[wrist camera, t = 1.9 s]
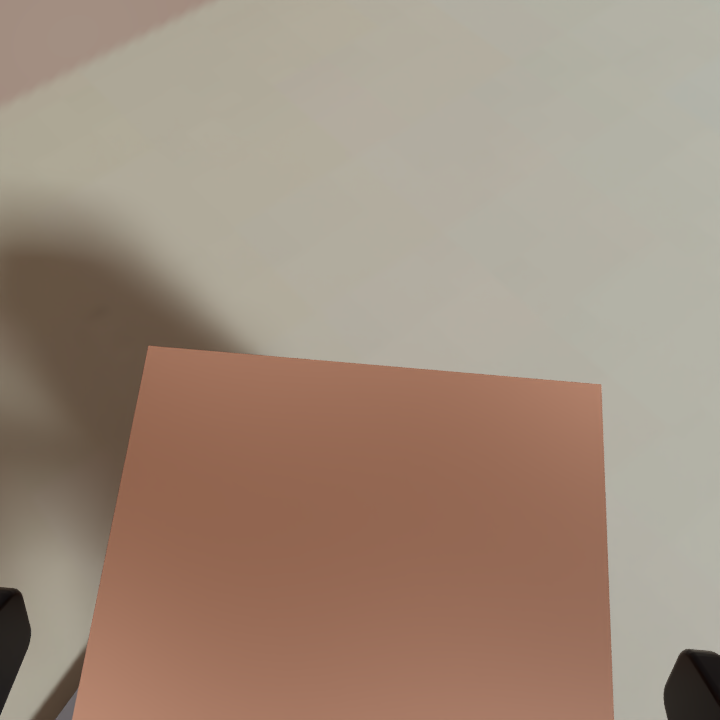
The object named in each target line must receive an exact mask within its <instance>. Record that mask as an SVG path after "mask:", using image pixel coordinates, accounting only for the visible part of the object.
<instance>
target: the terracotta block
mask: <svg viewBox="0 0 720 720" xmlns="http://www.w3.org/2000/svg"><path fill="white" fill-rule="evenodd" d="M72 720H614V709H613V683H612V656H611V630H610V604H609V577H608V551H607V525H606V498H605V472H604V446H603V419H602V393H601V384H589V383H577V382H566V381H554V380H543V379H531V378H519V377H508V376H496V375H484V374H473V373H461V372H449V371H438V370H426V369H414V368H403V367H391V366H379V365H368V364H356V363H345V362H333V361H321V360H310V359H298V358H286V357H275V356H263V355H251V354H240V353H228V352H216V351H205V350H193V349H182V348H170V347H158V346H148V350H147V355H146V360H145V365H144V370H143V375H142V379H141V384H140V389H139V394H138V399H137V404H136V409H135V414H134V419H133V424H132V428H131V433H130V438H129V443H128V448H127V453H126V458H125V463H124V468H123V472H122V477H121V482H120V487H119V492H118V497H117V502H116V507H115V512H114V517H113V521H112V526H111V531H110V536H109V541H108V546H107V551H106V556H105V561H104V566H103V570H102V575H101V580H100V585H99V590H98V595H97V600H96V605H95V610H94V615H93V619H92V624H91V629H90V634H89V639H88V644H87V649H86V654H85V659H84V663H83V668H82V673H81V678H80V683H79V688H78V693H77V698H76V703H75V708H74V712H73V717H72Z"/></svg>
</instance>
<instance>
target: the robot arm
mask: <svg viewBox="0 0 720 720" xmlns="http://www.w3.org/2000/svg"><path fill="white" fill-rule="evenodd" d="M30 638H31V627H30V623H29V619H28V615H27V611H26V608H25V604H24V600H23V596H22V593H21V592H20V591H19V590H18V589H15V588H4V587H0V715H1V712H2V710H3V707H4V705H5V702H6V700H7V698H8V695H9V693H10V690H11V688H12V685H13V683H14V681H15V678H16V676H17V673H18V671H19V668H20V666H21V664H22V661H23V659H24V656H25V654H26V651H27V649H28V646H29V643H30ZM664 705H665V710H666V714H667V718H668V720H720V655H718V654H717V653H715V652H712V651H705V650H694V649H685V650H684V651H682V652H681V653H680V655H679V656H678V659H677V661H676V663H675V665H674V667H673V669H672V672H671V674H670V676H669V678H668V680H667V682H666V685H665V688H664Z"/></svg>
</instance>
